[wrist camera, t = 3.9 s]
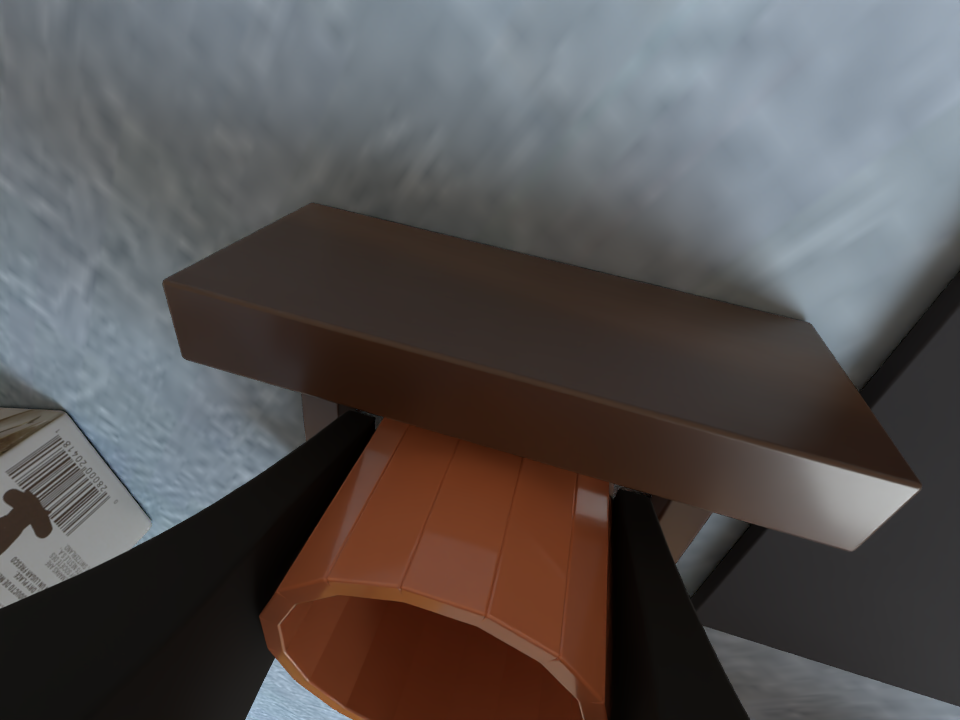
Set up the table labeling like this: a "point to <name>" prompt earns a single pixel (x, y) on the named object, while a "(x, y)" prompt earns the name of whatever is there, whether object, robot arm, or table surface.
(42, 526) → the coffee box
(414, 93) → the table surface
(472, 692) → the cup
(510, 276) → the stand
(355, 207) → the table surface
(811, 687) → the table surface
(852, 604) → the mat
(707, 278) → the table surface
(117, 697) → the robot arm
